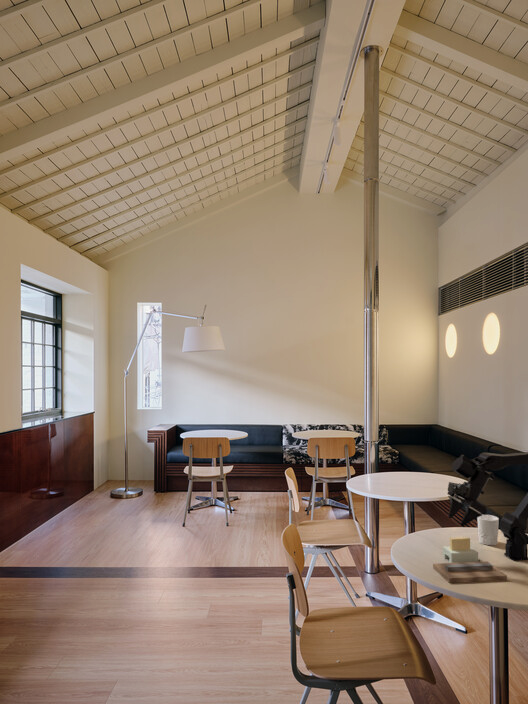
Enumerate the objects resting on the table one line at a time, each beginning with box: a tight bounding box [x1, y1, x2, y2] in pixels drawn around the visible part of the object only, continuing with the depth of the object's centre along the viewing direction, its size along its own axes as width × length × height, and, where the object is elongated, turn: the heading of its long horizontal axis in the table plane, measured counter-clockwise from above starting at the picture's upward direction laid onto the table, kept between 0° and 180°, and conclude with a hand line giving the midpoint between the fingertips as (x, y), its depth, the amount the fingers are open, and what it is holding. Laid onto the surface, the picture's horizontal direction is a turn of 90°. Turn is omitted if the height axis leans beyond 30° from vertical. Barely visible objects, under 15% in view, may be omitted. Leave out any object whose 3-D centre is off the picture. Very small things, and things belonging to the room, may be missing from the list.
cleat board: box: [432, 561, 508, 584], centre depth 169 cm, size 20×12×3 cm, turn 95°
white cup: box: [476, 514, 500, 546], centre depth 199 cm, size 8×8×10 cm
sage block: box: [442, 536, 479, 563], centre depth 181 cm, size 10×7×8 cm
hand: (455, 521), depth 181 cm, fingers open, 9 cm apart
